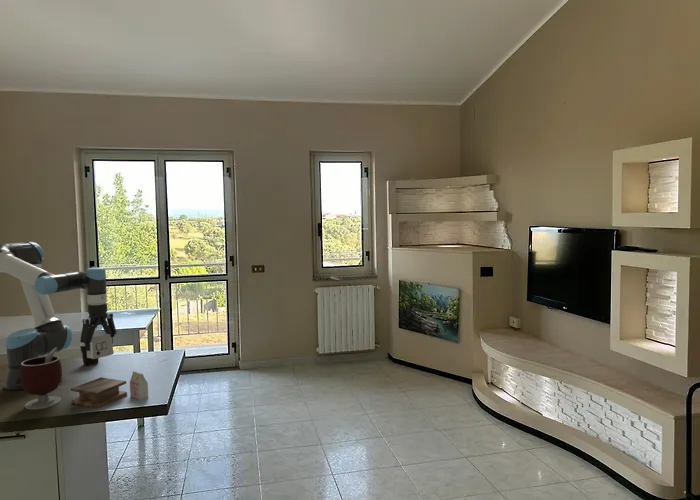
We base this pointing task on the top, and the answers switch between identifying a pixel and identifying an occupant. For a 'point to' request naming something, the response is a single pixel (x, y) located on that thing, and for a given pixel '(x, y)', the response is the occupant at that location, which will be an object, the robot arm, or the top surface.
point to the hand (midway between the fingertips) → (99, 354)
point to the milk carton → (138, 386)
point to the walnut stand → (99, 392)
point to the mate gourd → (41, 380)
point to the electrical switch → (102, 346)
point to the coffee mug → (84, 355)
